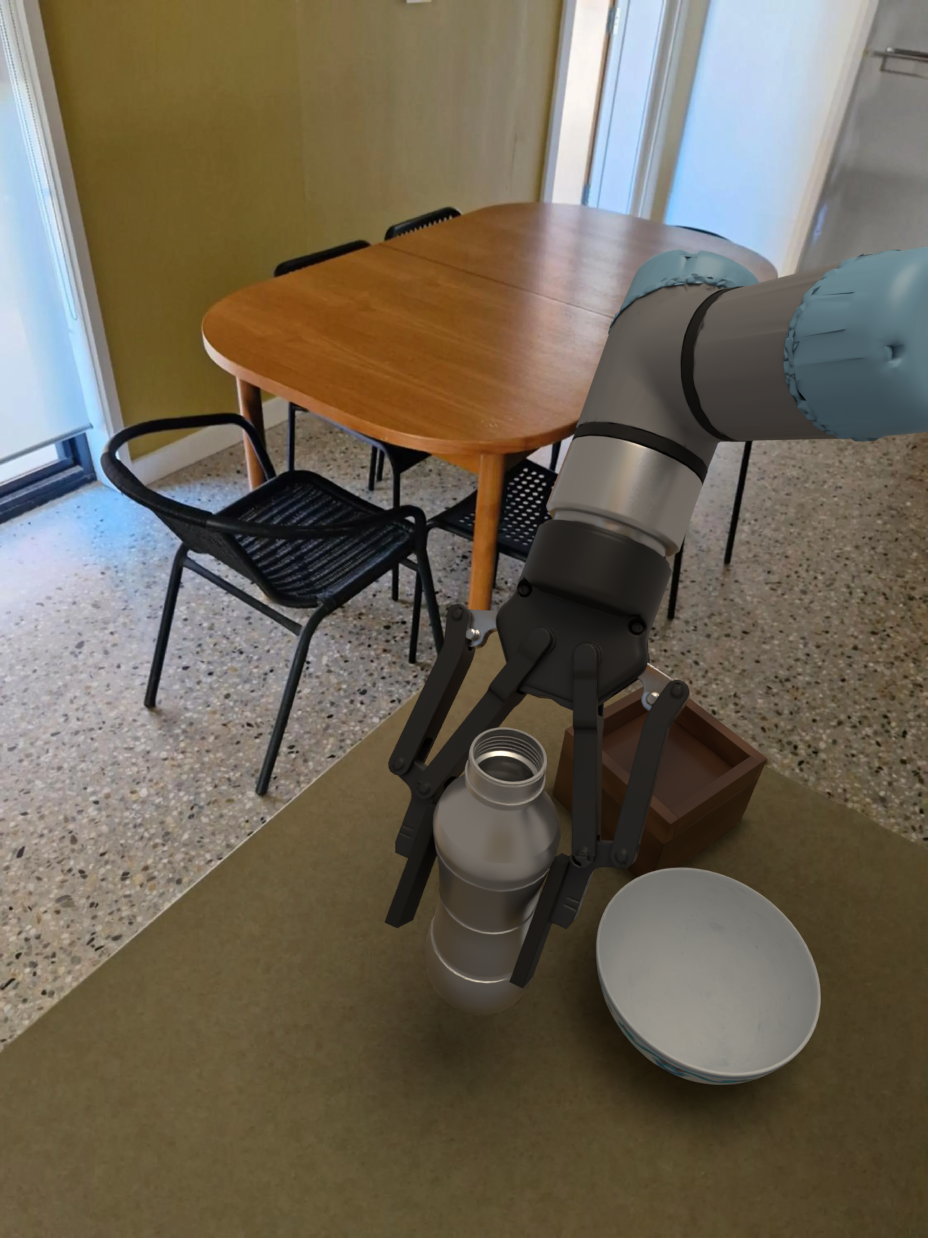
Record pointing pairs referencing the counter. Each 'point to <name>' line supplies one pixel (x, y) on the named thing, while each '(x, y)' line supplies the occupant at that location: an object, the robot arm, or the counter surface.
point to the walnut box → (671, 781)
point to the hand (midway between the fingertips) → (459, 949)
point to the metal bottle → (489, 869)
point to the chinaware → (706, 976)
